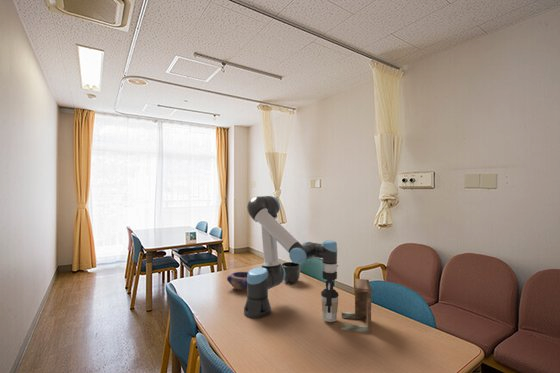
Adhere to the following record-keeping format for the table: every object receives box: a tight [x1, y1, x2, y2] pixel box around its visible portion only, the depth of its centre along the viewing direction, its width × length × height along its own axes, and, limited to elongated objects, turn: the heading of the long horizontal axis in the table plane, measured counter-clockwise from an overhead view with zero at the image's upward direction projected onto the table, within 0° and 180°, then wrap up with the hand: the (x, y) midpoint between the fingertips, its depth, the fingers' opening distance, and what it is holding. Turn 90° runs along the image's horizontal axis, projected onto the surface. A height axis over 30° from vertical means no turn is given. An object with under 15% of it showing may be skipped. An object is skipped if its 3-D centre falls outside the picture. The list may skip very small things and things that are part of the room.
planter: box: [281, 261, 301, 285], centre depth 206 cm, size 14×14×13 cm
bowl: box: [226, 271, 249, 291], centre depth 193 cm, size 18×18×10 cm
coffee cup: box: [320, 288, 340, 323], centre depth 146 cm, size 9×9×15 cm
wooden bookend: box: [340, 278, 372, 334], centre depth 143 cm, size 14×14×21 cm
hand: (329, 314), depth 146 cm, fingers closed on coffee cup, 9 cm apart
